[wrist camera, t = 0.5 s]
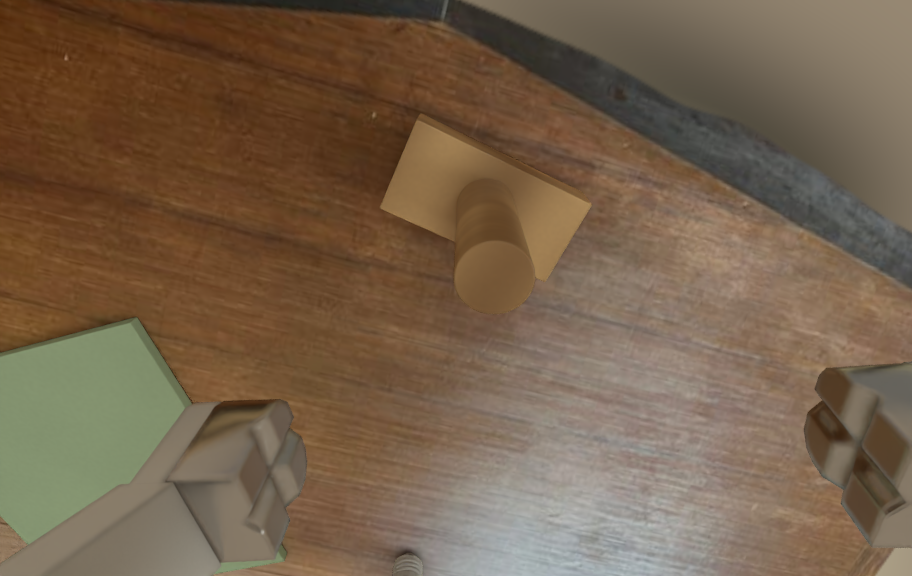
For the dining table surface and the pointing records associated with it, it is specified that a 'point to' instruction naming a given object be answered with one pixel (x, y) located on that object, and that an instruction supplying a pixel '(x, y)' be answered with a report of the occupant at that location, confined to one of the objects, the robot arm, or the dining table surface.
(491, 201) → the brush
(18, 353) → the mat
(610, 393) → the dining table surface
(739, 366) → the dining table surface
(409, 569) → the light bulb
